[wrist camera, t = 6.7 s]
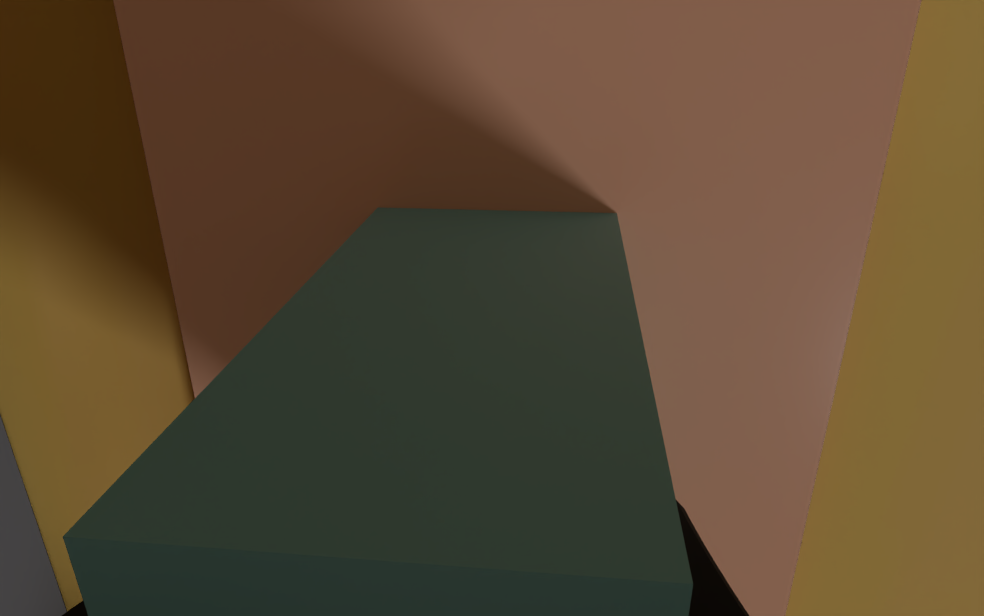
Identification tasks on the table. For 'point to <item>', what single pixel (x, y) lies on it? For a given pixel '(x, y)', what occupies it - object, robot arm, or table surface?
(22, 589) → the pocket board
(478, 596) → the teal block
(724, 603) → the robot arm
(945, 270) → the table surface
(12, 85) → the table surface
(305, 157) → the terracotta tile
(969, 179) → the table surface
